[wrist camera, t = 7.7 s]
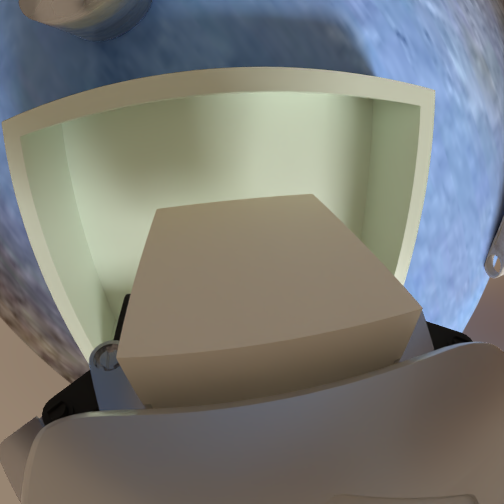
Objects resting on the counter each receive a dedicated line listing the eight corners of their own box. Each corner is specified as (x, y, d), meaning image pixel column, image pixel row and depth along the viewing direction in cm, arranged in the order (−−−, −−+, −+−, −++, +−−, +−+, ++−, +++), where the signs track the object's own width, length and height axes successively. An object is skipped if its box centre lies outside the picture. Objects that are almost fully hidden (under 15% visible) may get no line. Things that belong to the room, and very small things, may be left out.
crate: (51, 110, 12) (1, 122, 8) (379, 85, 15) (435, 90, 10) (110, 323, 20) (96, 376, 16) (356, 291, 23) (386, 335, 18)
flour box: (156, 208, 10) (115, 357, 4) (312, 193, 11) (422, 308, 5) (182, 326, 13) (186, 464, 8) (303, 310, 14) (358, 432, 8)
